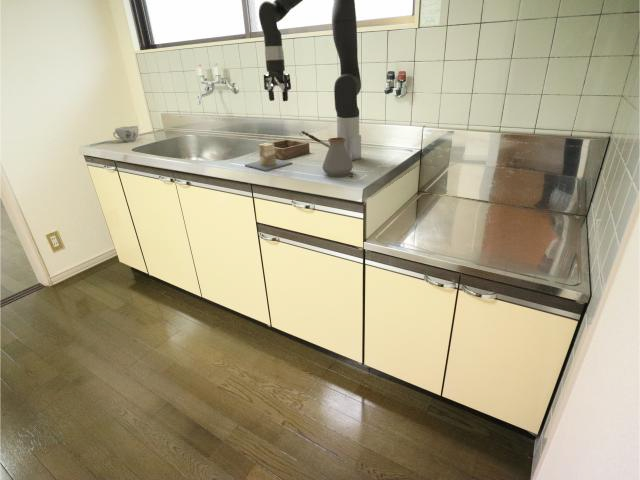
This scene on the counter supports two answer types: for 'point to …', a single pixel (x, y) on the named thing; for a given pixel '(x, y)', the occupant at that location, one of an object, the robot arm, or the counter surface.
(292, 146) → the walnut crate
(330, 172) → the coffee pot
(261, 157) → the maple block
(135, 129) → the teacup
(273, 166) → the charcoal mat
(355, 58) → the robot arm
